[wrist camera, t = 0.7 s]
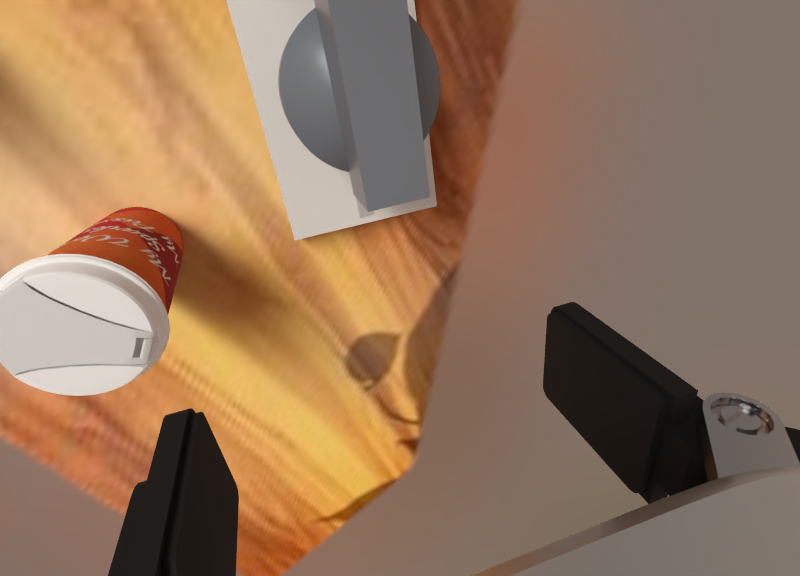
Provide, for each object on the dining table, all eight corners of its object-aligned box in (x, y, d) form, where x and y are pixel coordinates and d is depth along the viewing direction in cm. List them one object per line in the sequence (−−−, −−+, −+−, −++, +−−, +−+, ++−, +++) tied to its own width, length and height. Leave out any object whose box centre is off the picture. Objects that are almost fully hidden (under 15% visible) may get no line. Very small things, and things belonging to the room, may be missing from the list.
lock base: (205, -75, 26) (192, -114, 21) (393, -94, 28) (424, -133, 23) (293, 232, 35) (299, 258, 30) (428, 200, 38) (455, 219, 32)
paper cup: (208, 210, 33) (178, 286, 21) (187, 297, 35) (149, 411, 23) (88, 176, 30) (-30, 243, 18) (73, 275, 32) (-40, 393, 20)
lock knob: (252, -8, 23) (250, -39, 17) (410, -29, 24) (460, -64, 18) (306, 203, 28) (320, 236, 22) (433, 174, 30) (477, 198, 24)
